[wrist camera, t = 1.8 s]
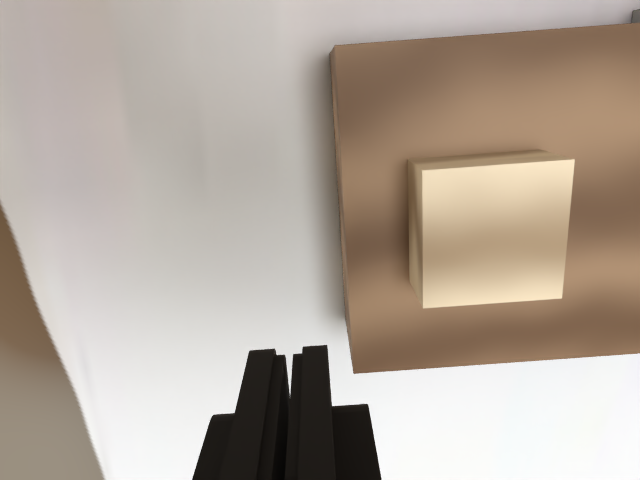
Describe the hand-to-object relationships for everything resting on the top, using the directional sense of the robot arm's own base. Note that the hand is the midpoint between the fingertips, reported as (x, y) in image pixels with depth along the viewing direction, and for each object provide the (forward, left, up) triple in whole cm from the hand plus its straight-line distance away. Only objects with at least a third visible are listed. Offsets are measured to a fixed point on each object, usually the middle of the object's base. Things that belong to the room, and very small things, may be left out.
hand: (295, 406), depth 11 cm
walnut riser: (0, +10, -19) cm, 21 cm away
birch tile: (0, +8, -13) cm, 15 cm away
